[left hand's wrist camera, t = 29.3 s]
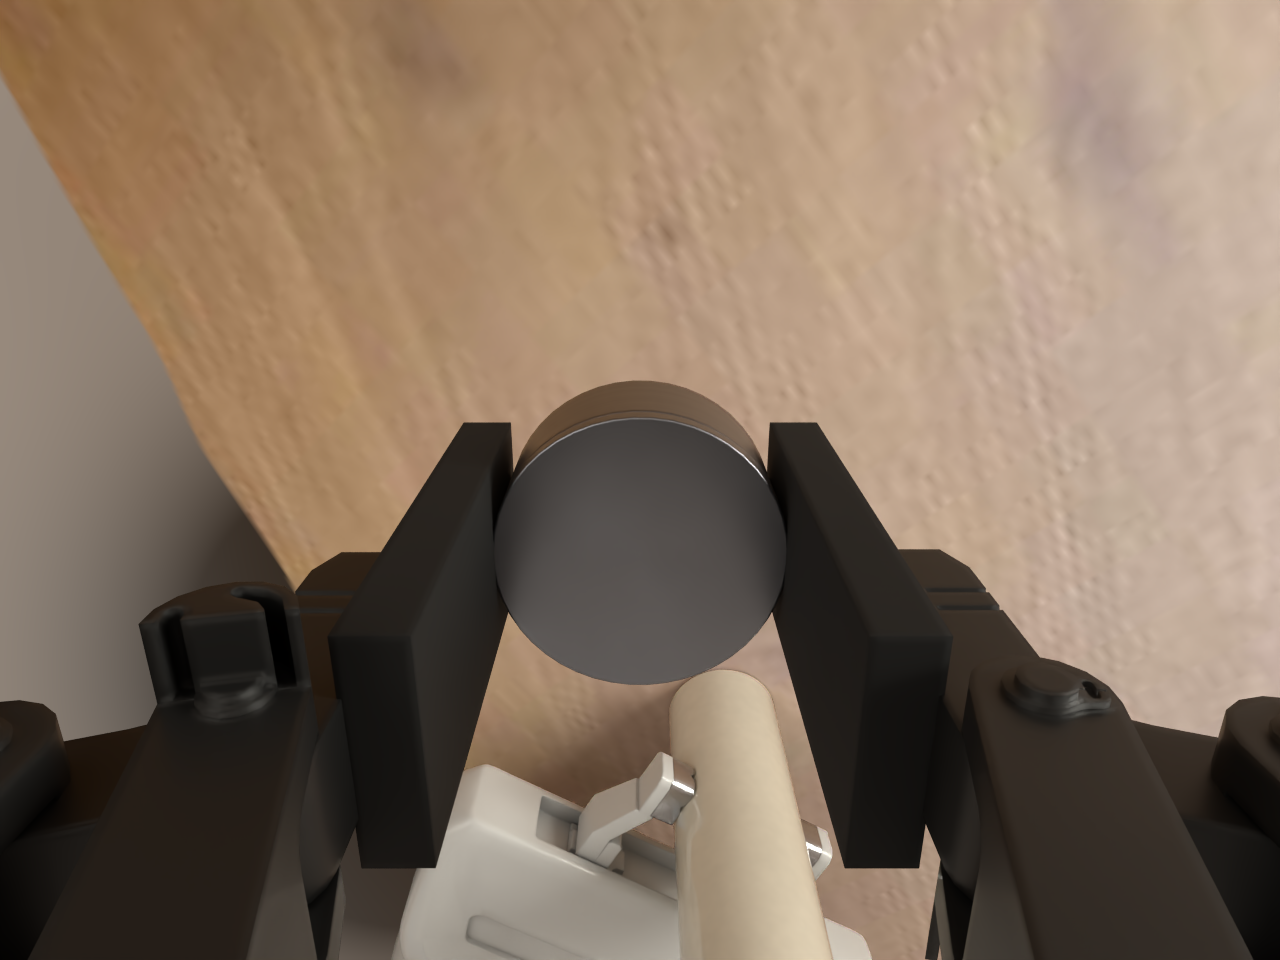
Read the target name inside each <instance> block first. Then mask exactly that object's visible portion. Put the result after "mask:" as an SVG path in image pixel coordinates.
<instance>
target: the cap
mask: <svg viewBox="0 0 1280 960" xmlns="http://www.w3.org/2000/svg"><path fill="white" fill-rule="evenodd" d="M493 542H494V559H495V573H496V583H497V586H498V589H499V592H500V595H501V598H502V600H503V602H504V604H505V606H506V608H507V610H508V612H509V614H510V615H511V617H512V618H513V620H514V621H515V623H516V624H517V626H518V627H519V628H520V630H521V631H522V632H523V633H524V634H525V635H526V636H527V637H528V639H529V640H530V641H531V642H532V643H533V644H534V645H536V646H537V647H538V648H539V649H540V650H541V651H543V652H544V653H545V654H546V655H548V656H549V657H551V658H552V659H554V660H555V661H557V662H558V663H560V664H562V665H564V666H566V667H568V668H570V669H572V670H574V671H576V672H578V673H581V674H584V675H586V676H589V677H592V678H595V679H599V680H603V681H608V682H613V683H621V684H629V685H650V684H660V683H668V682H672V681H677V680H682V679H685V678H688V677H691V676H694V675H697V674H700V673H702V672H704V671H707V670H709V669H711V668H713V667H715V666H717V665H719V664H720V663H722V662H723V661H725V660H727V659H728V658H730V657H731V656H733V655H734V654H735V653H736V652H738V651H739V650H740V649H741V648H743V647H744V646H745V645H746V644H747V643H748V642H749V641H750V640H751V639H752V638H753V637H754V636H755V635H756V634H757V633H758V631H759V630H760V629H761V627H762V626H763V625H764V623H765V622H766V621H767V619H768V618H769V616H770V614H771V613H772V611H773V609H774V607H775V605H776V603H777V601H778V599H779V596H780V593H781V591H782V588H783V585H784V580H785V567H786V552H787V529H786V524H785V520H784V516H783V513H782V510H781V508H780V505H779V502H778V499H777V497H776V494H775V492H774V489H773V487H772V484H771V482H770V479H769V476H768V474H767V471H766V469H765V466H764V464H763V461H762V459H761V456H760V454H759V452H758V450H757V448H756V446H755V444H754V442H753V441H752V439H751V438H750V436H749V435H748V434H747V432H746V431H745V430H744V428H743V427H742V426H741V425H740V424H739V423H738V422H737V421H736V420H735V418H734V417H733V416H732V415H731V414H729V413H728V412H727V411H726V410H724V409H723V408H722V407H720V406H719V405H718V404H716V403H715V402H713V401H711V400H710V399H708V398H706V397H705V396H703V395H701V394H698V393H696V392H694V391H691V390H689V389H687V388H683V387H680V386H676V385H673V384H669V383H662V382H655V381H626V382H617V383H612V384H608V385H604V386H600V387H597V388H594V389H592V390H589V391H587V392H584V393H582V394H580V395H578V396H576V397H574V398H572V399H571V400H569V401H567V402H566V403H564V404H563V405H561V406H560V407H559V408H557V409H556V410H555V411H553V412H552V413H551V414H550V415H549V416H548V417H547V418H546V419H545V420H544V421H543V422H542V423H541V424H540V425H539V426H538V428H537V429H536V430H535V431H534V433H533V434H532V435H531V437H530V438H529V440H528V442H527V443H526V445H525V447H524V449H523V450H522V453H521V455H520V458H519V460H518V462H517V465H516V467H515V470H514V473H513V475H512V478H511V480H510V483H509V485H508V488H507V491H506V493H505V496H504V498H503V501H502V503H501V506H500V509H499V511H498V514H497V518H496V522H495V526H494V531H493Z"/></svg>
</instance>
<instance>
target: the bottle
mask: <svg viewBox="0 0 1280 960" xmlns="http://www.w3.org/2000/svg"><path fill="white" fill-rule="evenodd" d="M669 734H670V756H671V757H674V758H676V759H678V760H680V761H682V762H684V763H686V764H688V765H690V766H692V767H693V768H694V775H693V776H692V778H693V779H694V781H695V791H694V795H693V797H692V799H691V801H690V802H689V803H688V804H687V805H686V806H684V807H681V813H680V815H679V817H678V818H677V819H676V821H675V822H674V845H675V867H676V889H677V912H678V934H679V956H680V960H834V959H833V954H832V950H831V946H830V941H829V937H828V933H827V929H826V924H825V920H824V916H823V911H822V907H821V903H820V899H819V894H818V890H817V886H816V881H815V877H814V873H813V869H812V864H811V860H810V856H809V852H808V847H807V843H806V839H805V834H804V830H803V826H802V822H801V817H800V813H799V809H798V804H797V800H796V796H795V792H794V787H793V783H792V779H791V775H790V770H789V766H788V762H787V757H786V753H785V749H784V745H783V740H782V736H781V732H780V727H779V723H778V719H777V715H776V710H775V706H774V702H773V699H772V697H771V695H770V693H769V692H768V690H767V689H766V688H765V687H764V686H763V684H761V683H760V682H759V681H758V680H756V679H755V678H753V677H752V676H749V675H747V674H745V673H742V672H739V671H734V670H713V671H708V672H704V673H702V674H699V675H697V676H695V677H693V678H691V679H690V680H688V681H687V682H686V683H685V684H683V685H682V686H681V687H680V689H679V690H678V691H677V692H676V694H675V695H674V697H673V699H672V701H671V704H670V708H669Z"/></svg>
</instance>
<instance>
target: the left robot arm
mask: <svg viewBox="0 0 1280 960" xmlns="http://www.w3.org/2000/svg"><path fill="white" fill-rule="evenodd" d="M513 473H514V472H513V454H512V437H511V423H463V425H462V426H461V428H460V429H459V431H458V433H457V434H456V436H455V437H454V439H453V440H452V442H451V443H450V445H449V447H448V448H447V450H446V451H445V453H444V454H443V456H442V458H441V459H440V461H439V462H438V464H437V465H436V467H435V468H434V470H433V472H432V473H431V475H430V476H429V478H428V479H427V481H426V483H425V484H424V486H423V487H422V489H421V490H420V492H419V494H418V495H417V497H416V498H415V500H414V501H413V503H412V504H411V506H410V508H409V509H408V511H407V512H406V514H405V515H404V517H403V519H402V520H401V522H400V523H399V525H398V526H397V528H396V529H395V531H394V533H393V534H392V536H391V537H390V539H389V540H388V542H387V544H386V545H385V547H384V548H383V550H382V551H381V552H341V553H340V554H338V555H336V556H335V557H333V558H331V559H330V560H328V561H326V562H325V563H323V564H321V565H320V566H318V567H316V568H315V569H313V570H312V571H311V572H310V573H309V574H308V576H307V577H306V578H305V580H304V581H303V582H302V584H301V585H300V586H299V587H298V589H297V590H296V591H295V593H296V594H294V593H293V592H292V591H290V590H289V589H287V588H286V587H285V586H280V585H276V584H271V583H267V582H233V583H227V584H221V585H216V586H210V587H205V588H202V589H199V590H196V591H193V592H190V593H187V594H184V595H181V596H178V597H176V598H174V599H172V600H170V601H168V602H166V603H165V604H163V605H161V606H159V607H157V608H155V609H154V610H153V611H152V612H151V613H149V614H148V615H147V616H146V617H145V618H144V619H143V620H142V621H141V622H140V623H139V628H140V632H141V636H142V641H143V645H144V649H145V653H146V658H147V662H148V666H149V670H150V675H151V679H152V683H153V687H154V691H155V695H156V700H157V706H156V708H155V710H154V712H153V714H152V716H151V718H150V720H149V722H148V724H147V725H143V726H139V727H135V728H131V729H127V730H122V731H116V732H111V733H106V734H101V735H95V736H90V737H85V738H80V739H74V740H69V741H63V738H62V734H61V731H60V727H59V724H58V720H57V717H56V714H55V713H54V712H53V711H51V710H50V709H49V708H47V707H46V706H45V705H44V704H40V703H33V702H27V701H21V700H17V701H5V702H0V960H338V959H339V951H340V943H341V935H342V927H343V919H344V911H345V903H346V900H345V893H344V886H343V880H342V874H341V867H340V862H341V860H342V857H343V855H344V853H345V850H346V848H347V846H348V843H349V841H350V838H351V836H352V834H353V831H354V829H355V827H356V833H357V841H358V847H359V854H360V861H361V867H362V868H436V866H437V862H438V859H439V855H440V852H441V848H442V845H443V841H444V837H445V834H446V830H447V827H448V823H449V820H450V816H451V813H452V809H453V806H454V802H455V799H456V795H457V792H458V788H459V784H460V781H461V777H462V774H463V770H464V767H465V763H466V760H467V756H468V753H469V749H470V746H471V742H472V739H473V735H474V731H475V728H476V724H477V721H478V717H479V714H480V710H481V707H482V703H483V700H484V696H485V693H486V689H487V685H488V682H489V678H490V675H491V671H492V668H493V664H494V661H495V657H496V654H497V650H498V647H499V643H500V640H501V636H502V632H503V629H504V625H505V622H506V618H507V615H508V610H507V608H506V606H505V604H504V602H503V600H502V598H501V595H500V592H499V589H498V586H497V583H496V573H495V559H494V542H493V531H494V526H495V522H496V518H497V514H498V511H499V509H500V506H501V503H502V501H503V498H504V496H505V493H506V491H507V488H508V485H509V483H510V480H511V478H512V475H513ZM767 474H768V476H769V479H770V482H771V484H772V487H773V489H774V492H775V494H776V497H777V499H778V502H779V505H780V508H781V510H782V513H783V516H784V520H785V524H786V529H787V552H786V567H785V580H784V585H783V588H782V591H781V593H780V596H779V599H778V601H777V603H776V605H775V607H774V609H773V611H772V613H773V616H774V620H775V623H776V627H777V630H778V634H779V638H780V641H781V645H782V648H783V652H784V655H785V659H786V662H787V666H788V669H789V673H790V676H791V680H792V683H793V687H794V691H795V694H796V698H797V701H798V705H799V708H800V712H801V715H802V719H803V722H804V726H805V729H806V733H807V736H808V740H809V744H810V747H811V751H812V754H813V758H814V761H815V765H816V768H817V772H818V775H819V779H820V782H821V786H822V789H823V793H824V797H825V800H826V804H827V807H828V811H829V814H830V818H831V821H832V825H833V828H834V832H835V835H836V839H837V842H838V846H839V850H840V853H841V857H842V860H843V864H844V867H845V868H919V865H920V858H921V851H922V845H923V838H924V831H925V824H926V825H927V828H928V830H929V832H930V835H931V837H932V840H933V842H934V844H935V847H936V849H937V851H938V854H939V856H940V859H941V861H940V867H939V873H938V880H937V886H936V892H935V898H934V905H933V911H932V917H931V923H930V930H929V936H928V942H927V949H926V956H925V959H928V960H937V958H938V952H939V947H940V949H941V957H942V960H1280V698H1277V697H1266V696H1261V697H1255V698H1248V699H1242V700H1238V701H1237V702H1236V703H1235V704H1233V705H1232V706H1231V707H1229V708H1228V709H1227V710H1226V712H1225V716H1224V719H1223V723H1222V726H1221V730H1220V733H1219V737H1218V738H1217V737H1212V736H1206V735H1201V734H1196V733H1190V732H1185V731H1180V730H1174V729H1169V728H1164V727H1159V726H1153V725H1149V724H1145V723H1141V722H1137V721H1133V720H1131V718H1130V716H1129V714H1128V712H1127V710H1126V708H1125V706H1124V705H1123V703H1122V702H1121V700H1120V699H1119V698H1118V697H1117V696H1116V694H1115V693H1114V692H1113V691H1112V690H1111V689H1110V687H1109V686H1107V685H1106V684H1104V683H1103V682H1101V681H1099V680H1098V679H1096V678H1095V677H1093V676H1092V675H1090V674H1089V673H1087V672H1085V671H1082V670H1080V669H1077V668H1075V667H1072V666H1070V665H1067V664H1064V663H1062V662H1059V661H1055V660H1050V659H1045V658H1040V657H1039V656H1038V654H1037V653H1036V652H1035V651H1034V649H1033V648H1032V647H1031V646H1030V644H1029V643H1028V642H1027V640H1026V639H1025V638H1024V637H1023V635H1022V634H1021V633H1020V631H1019V630H1018V629H1017V628H1016V626H1015V625H1014V624H1013V623H1012V621H1011V620H1010V619H1009V617H1008V616H1007V615H1006V614H1005V612H1004V611H1003V610H999V605H998V603H997V602H996V601H995V600H994V598H993V597H992V596H991V594H990V593H989V592H986V588H985V587H984V585H983V584H982V583H981V582H980V580H979V579H978V578H977V577H976V575H975V574H974V573H973V571H972V570H971V569H970V568H969V567H968V566H966V565H965V564H963V563H961V562H960V561H958V560H956V559H955V558H953V557H951V556H950V555H948V554H946V553H945V552H943V551H941V550H940V549H897V547H896V546H895V544H894V543H893V541H892V539H891V538H890V536H889V535H888V533H887V532H886V530H885V529H884V527H883V525H882V524H881V522H880V521H879V519H878V518H877V516H876V514H875V513H874V511H873V510H872V508H871V507H870V505H869V503H868V502H867V500H866V499H865V497H864V496H863V494H862V493H861V491H860V489H859V488H858V486H857V485H856V483H855V482H854V480H853V478H852V477H851V475H850V474H849V472H848V471H847V469H846V468H845V466H844V464H843V463H842V461H841V460H840V458H839V457H838V455H837V453H836V452H835V450H834V449H833V447H832V446H831V444H830V443H829V441H828V439H827V438H826V436H825V435H824V433H823V432H822V430H821V428H820V427H819V425H818V424H817V423H770V429H769V447H768V465H767Z"/></svg>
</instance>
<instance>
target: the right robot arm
mask: <svg viewBox="0 0 1280 960" xmlns="http://www.w3.org/2000/svg"><path fill="white" fill-rule="evenodd" d="M693 775H694V768H693V767H692V766H690V765H688V764H686V763H684V762H682V761H680V760H678V759H676V758H674V757H671V756H669V755H667V754H665V753H663V752H659V753H657V755H656V756H655V757H654V759H653V760H652V762H651V763H650V764H649V766H648V767H647V768H646V770H645V771H644V773H643V774H642V775H641V777H640V778H639V779H638V778H634V779H631V780H629V781H626V782H624V783H621V784H619V785H617V786H614V787H612V788H609V789H607V790H604V791H602V792H599V793H597V794H594V796H593V797H592V799H591V800H590V802H589V803H588V804H587V806H586V807H585V808H584V807H582V806H579V805H577V804H575V803H573V802H571V801H569V800H566V799H564V798H562V797H560V796H558V795H555V794H553V793H551V792H549V791H547V790H544V789H542V788H540V787H538V786H536V785H533V784H531V783H529V782H527V781H525V780H522V779H520V778H518V777H516V776H514V775H511V774H509V773H507V772H505V771H503V770H501V769H499V768H497V767H494V766H492V765H488V764H483V765H479V766H476V767H473V768H470V769H467V770H464V771H463V774H462V777H461V781H460V784H459V788H458V792H457V795H456V799H455V802H454V806H453V809H452V813H451V816H450V820H449V823H448V827H447V830H446V834H445V837H444V841H443V845H442V848H441V852H440V855H439V859H438V862H437V866H436V868H417V869H416V872H415V875H414V878H413V882H412V885H411V889H410V892H409V896H408V899H407V902H406V906H405V909H404V913H403V916H402V920H401V925H400V930H399V933H398V936H397V939H396V942H395V946H394V949H393V953H392V956H391V960H680V956H679V934H678V912H677V889H676V867H675V849H674V848H672V847H669V846H667V845H665V844H663V843H661V842H658V841H656V840H654V839H652V838H650V837H647V836H645V835H643V834H641V833H639V832H636V831H634V830H632V829H633V828H635V827H637V826H639V825H641V824H643V823H645V822H647V821H649V820H651V819H653V817H654V818H656V819H658V820H661V821H663V822H665V823H668V824H670V825H672V824H673V823H674V822H675V821H676V819H677V818H678V817H679V815H680V813H681V807H684V806H686V805H687V804H688V803H689V802H690V801H691V799H692V797H693V795H694V791H695V781H694V779H693V778H692V776H693ZM801 822H802V826H803V830H804V834H805V839H806V843H807V847H808V852H809V856H810V860H811V864H812V869H813V873H814V877H815V881H816V880H817V878H818V877H819V876H820V875H821V874H822V872H823V871H824V870H825V869H826V868H827V866H828V865H829V864H830V861H831V858H832V848H831V844H830V840H829V836H828V833H827V831H826V830H824V829H822V828H820V827H818V826H816V825H813V824H811V823H809V822H807V821H805V820H802V819H801ZM824 920H825V924H826V929H827V933H828V937H829V941H830V946H831V950H832V954H833V959H834V960H872V957H871V954H870V951H869V948H868V945H867V943H866V941H865V939H864V937H863V936H862V935H861V934H859V933H858V932H856V931H854V930H852V929H850V928H847V927H845V926H843V925H841V924H839V923H836V922H834V921H832V920H830V919H828V918H825V917H824Z"/></svg>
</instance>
